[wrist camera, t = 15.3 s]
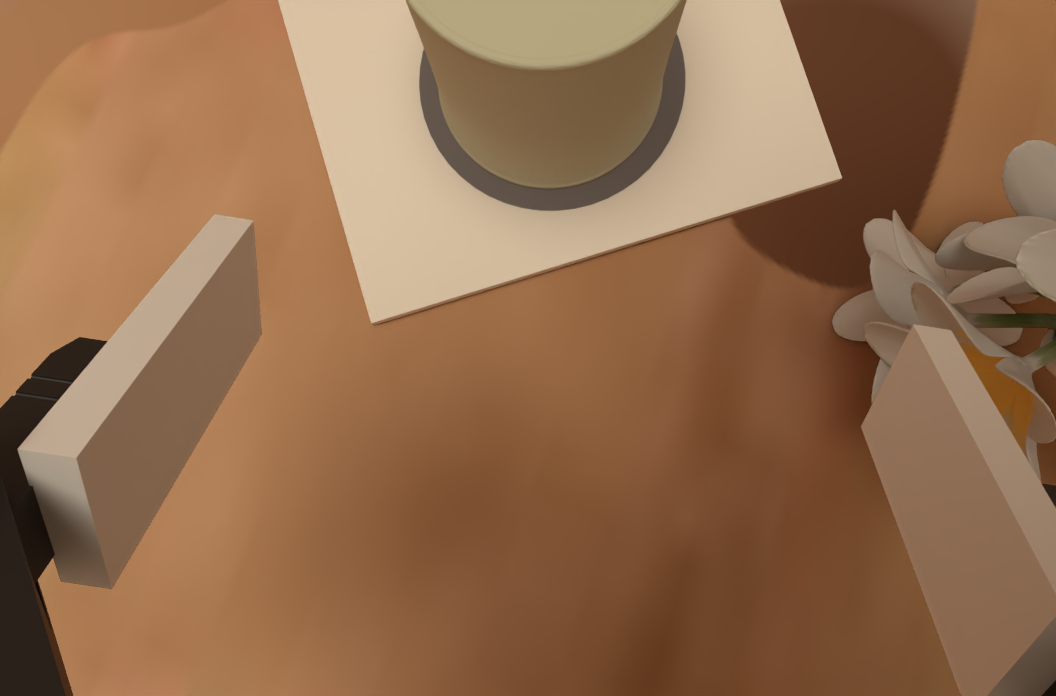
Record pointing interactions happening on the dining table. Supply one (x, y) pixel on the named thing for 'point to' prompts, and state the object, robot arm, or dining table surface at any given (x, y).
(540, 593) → the dining table surface
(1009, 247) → the flower vase
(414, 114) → the card
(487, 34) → the can
